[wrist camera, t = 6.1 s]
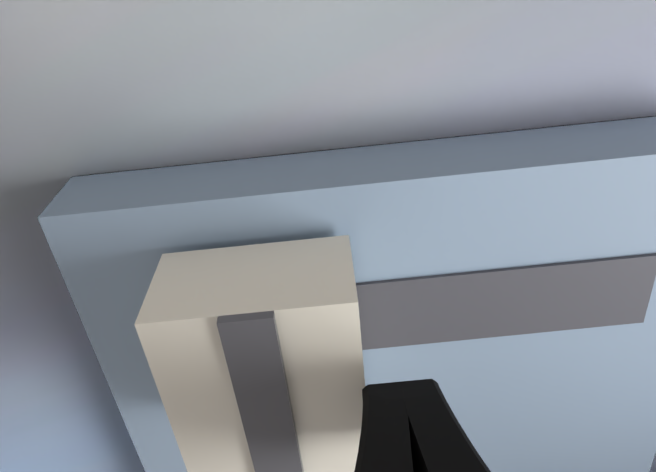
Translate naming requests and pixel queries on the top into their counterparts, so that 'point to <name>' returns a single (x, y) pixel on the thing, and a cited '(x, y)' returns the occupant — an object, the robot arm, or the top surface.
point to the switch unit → (418, 277)
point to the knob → (258, 355)
